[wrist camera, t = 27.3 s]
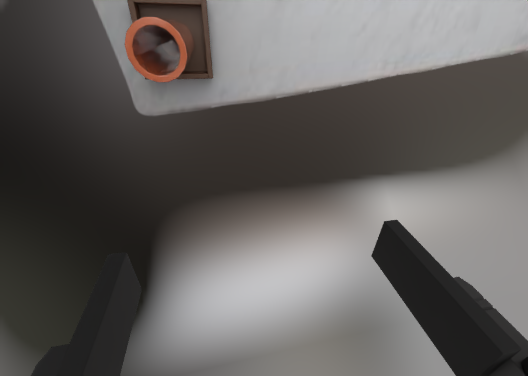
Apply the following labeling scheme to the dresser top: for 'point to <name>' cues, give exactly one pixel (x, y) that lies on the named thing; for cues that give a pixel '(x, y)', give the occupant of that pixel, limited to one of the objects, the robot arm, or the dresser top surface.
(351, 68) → the dresser top surface
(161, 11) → the tray
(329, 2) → the dresser top surface
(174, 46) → the orange hollow tube
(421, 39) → the dresser top surface
